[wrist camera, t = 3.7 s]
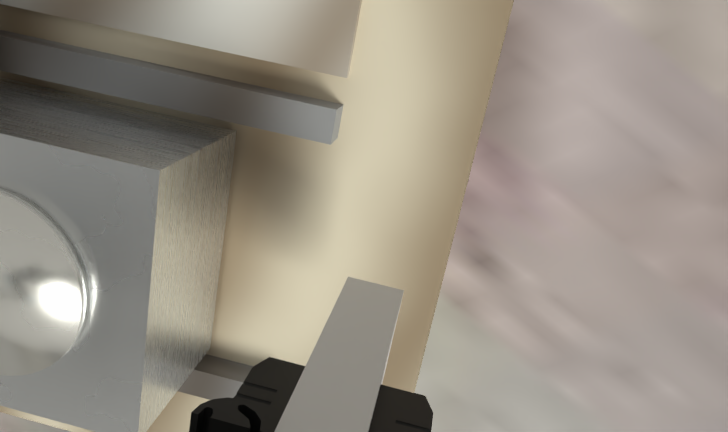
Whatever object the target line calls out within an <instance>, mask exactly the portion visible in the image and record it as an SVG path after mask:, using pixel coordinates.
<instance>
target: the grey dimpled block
mask: <svg viewBox="0 0 728 432" xmlns="http://www.w3.org/2000/svg"><path fill="white" fill-rule="evenodd" d="M236 133H237V130H233V129H228V128H224V127H219V126H215V125H210V124H206V123H202V122H197V121H193V120H188V119H184V118H179V117H175V116H171V115H166V114H162V113H157V112H153V111H148V110H144V109H140V108H135V107H131V106H126V105H122V104H117V103H113V102H108V101H104V100H100V99H95V98H91V97H86V96H82V95H77V94H73V93H69V92H64V91H60V90H55V89H51V88H46V87H42V86H37V85H33V84H29V83H24V82H20V81H15V80H11V79H6V78H2V77H0V406H4V407H7V408H11V409H14V410H18V411H22V412H25V413H29V414H33V415H36V416H40V417H44V418H47V419H51V420H54V421H58V422H62V423H65V424H69V425H73V426H76V427H80V428H83V429H87V430H91V431H94V432H146V431H147V430H148V429H149V427H150V426H151V425H152V423H153V422H154V421H155V420H156V418H157V417H158V416H159V414H160V413H161V412H162V410H163V409H164V408H165V407H166V405H167V404H168V403H169V401H170V400H171V399H172V397H173V396H174V395H175V393H176V392H177V391H178V390H179V388H180V387H181V386H182V384H183V383H184V382H185V380H186V379H187V378H188V377H189V375H190V374H191V373H192V371H193V370H194V369H195V367H196V366H197V365H198V364H199V362H200V361H201V360H202V358H203V357H204V356H205V354H206V353H207V352H208V350H209V349H210V345H211V337H212V329H213V321H214V313H215V304H216V296H217V288H218V280H219V272H220V264H221V256H222V247H223V239H224V231H225V223H226V215H227V207H228V198H229V190H230V182H231V174H232V166H233V158H234V149H235V141H236Z"/></svg>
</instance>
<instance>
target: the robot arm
mask: <svg viewBox="0 0 728 432" xmlns="http://www.w3.org/2000/svg"><path fill="white" fill-rule="evenodd" d="M403 293H404V290H400V289H396V288H392V287H388V286H384V285H380V284H376V283H372V282H368V281H364V280H360V279H356V278H352V277H348V278H347V280H346V282H345V284H344V286H343V288H342V290H341V293H340V295H339V297H338V299H337V301H336V303H335V305H334V307H333V309H332V311H331V314H330V316H329V318H328V320H327V322H326V324H325V326H324V328H323V330H322V333H321V335H320V337H319V339H318V341H317V343H316V345H315V347H314V349H313V351H312V354H311V356H310V358H309V360H308V362H307V364H306V366H303V365H299V364H295V363H291V362H287V361H284V360H280V359H276V358H272V357H268V358H267V359H265V360H263V361H262V362H260V363H258V364H257V365H255V366H253V367H252V369H251V370H250V372H249V374H248V375H247V377H246V379H245V380H244V383H243V384H242V385H241V387H240V388H239V390H238V391H237V394H236V396H234V398H228V397H227V398H218V399H212V400H209V401H207V402H204V403H202V404H200V405H199V406H198V407H197V408H196V409H194V410H193V411H192V412H191V419H190V428H189V432H431V427H432V418H433V412H432V409H431V407H430V405H429V403H428V401H427V399H426V397H425V396H424V395H420V394H416V393H412V392H408V391H404V390H401V389H397V388H393V387H389V386H385V385H382V382H383V378H384V374H385V370H386V366H387V361H388V357H389V353H390V348H391V344H392V340H393V336H394V331H395V327H396V323H397V318H398V314H399V310H400V306H401V301H402V297H403Z"/></svg>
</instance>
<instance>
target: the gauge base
mask: <svg viewBox="0 0 728 432" xmlns="http://www.w3.org/2000/svg"><path fill="white" fill-rule="evenodd" d="M513 2H514V0H0V77H2V78H6V79H11V80H15V81H20V82H24V83H29V84H33V85H37V86H42V87H46V88H51V89H55V90H60V91H64V92H69V93H73V94H77V95H82V96H86V97H91V98H95V99H100V100H104V101H108V102H113V103H117V104H122V105H126V106H131V107H135V108H140V109H144V110H148V111H153V112H157V113H162V114H166V115H171V116H175V117H179V118H184V119H188V120H193V121H197V122H202V123H206V124H210V125H215V126H219V127H224V128H228V129H233V130H237V133H236V141H235V149H234V158H233V166H232V174H231V182H230V190H229V198H228V207H227V215H226V223H225V231H224V239H223V247H222V256H221V264H220V272H219V280H218V288H217V296H216V304H215V313H214V321H213V329H212V337H211V345H210V349H209V350H208V352H207V353H206V354H205V356H204V357H203V358H202V360H201V361H200V362H199V364H198V365H197V366H196V367H195V369H194V370H193V371H192V373H191V374H190V375H189V377H188V378H187V379H186V380H185V382H184V383H183V384H182V386H181V387H180V388H179V390H178V391H177V392H176V393H175V395H174V396H173V397H172V399H171V400H170V401H169V403H168V404H167V405H166V407H165V408H164V409H163V410H162V412H161V413H160V414H159V416H158V417H157V418H156V420H155V421H154V422H153V423H152V425H151V426H150V427H149V429H148V430H147V431H146V432H189V428H190V419H191V412H192V411H193V410H194V409H196V408H197V407H198V406H199V405H200V404H202V403H204V402H207V401H209V400H212V399H218V398H227V397H228V398H234V396H236V394H237V391H238V390H239V388H240V387H241V385H242V384H243V383H244V380H245V379H246V377H247V375H248V374H249V372H250V370H251V369H252V367H253V366H255V365H257V364H258V363H260V362H262V361H263V360H265V359H267V358H268V357H272V358H276V359H280V360H284V361H287V362H291V363H295V364H299V365H303V366H306V364H307V362H308V360H309V358H310V356H311V354H312V351H313V349H314V347H315V345H316V343H317V341H318V339H319V337H320V335H321V333H322V330H323V328H324V326H325V324H326V322H327V320H328V318H329V316H330V314H331V311H332V309H333V307H334V305H335V303H336V301H337V299H338V297H339V295H340V293H341V290H342V288H343V286H344V284H345V282H346V280H347V278H348V277H352V278H356V279H360V280H364V281H368V282H372V283H376V284H380V285H384V286H388V287H392V288H396V289H400V290H404V293H403V297H402V301H401V306H400V310H399V314H398V318H397V323H396V327H395V331H394V336H393V340H392V344H391V348H390V353H389V357H388V361H387V366H386V370H385V374H384V378H383V382H382V385H385V386H389V387H393V388H397V389H401V390H404V391H408V392H412V393H414V391H415V387H416V383H417V379H418V375H419V371H420V367H421V363H422V359H423V355H424V352H425V348H426V344H427V340H428V336H429V332H430V328H431V324H432V320H433V316H434V312H435V308H436V304H437V300H438V297H439V293H440V289H441V285H442V281H443V277H444V273H445V269H446V265H447V261H448V257H449V253H450V249H451V245H452V241H453V238H454V234H455V230H456V226H457V222H458V218H459V214H460V210H461V206H462V202H463V198H464V194H465V190H466V186H467V182H468V179H469V175H470V171H471V167H472V163H473V159H474V155H475V151H476V147H477V143H478V139H479V135H480V131H481V127H482V124H483V120H484V116H485V112H486V108H487V104H488V100H489V96H490V92H491V88H492V84H493V80H494V76H495V72H496V68H497V65H498V61H499V57H500V53H501V49H502V45H503V41H504V37H505V33H506V29H507V25H508V21H509V17H510V13H511V9H512V6H513ZM0 412H3V413H6V414H10V415H13V416H17V417H21V418H24V419H28V420H31V421H35V422H39V423H42V424H46V425H50V426H53V427H57V428H60V429H64V430H68V431H71V432H94V431H91V430H87V429H83V428H80V427H76V426H73V425H69V424H65V423H62V422H58V421H54V420H51V419H47V418H44V417H40V416H36V415H33V414H29V413H25V412H22V411H18V410H14V409H11V408H7V407H4V406H0Z"/></svg>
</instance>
